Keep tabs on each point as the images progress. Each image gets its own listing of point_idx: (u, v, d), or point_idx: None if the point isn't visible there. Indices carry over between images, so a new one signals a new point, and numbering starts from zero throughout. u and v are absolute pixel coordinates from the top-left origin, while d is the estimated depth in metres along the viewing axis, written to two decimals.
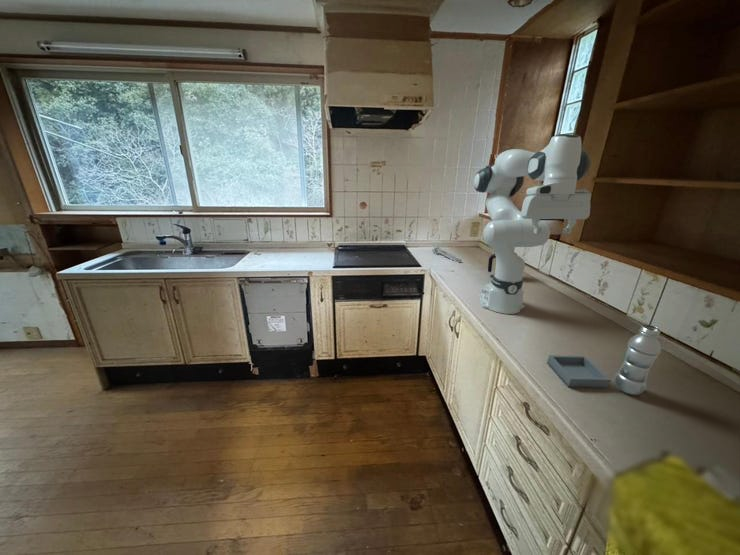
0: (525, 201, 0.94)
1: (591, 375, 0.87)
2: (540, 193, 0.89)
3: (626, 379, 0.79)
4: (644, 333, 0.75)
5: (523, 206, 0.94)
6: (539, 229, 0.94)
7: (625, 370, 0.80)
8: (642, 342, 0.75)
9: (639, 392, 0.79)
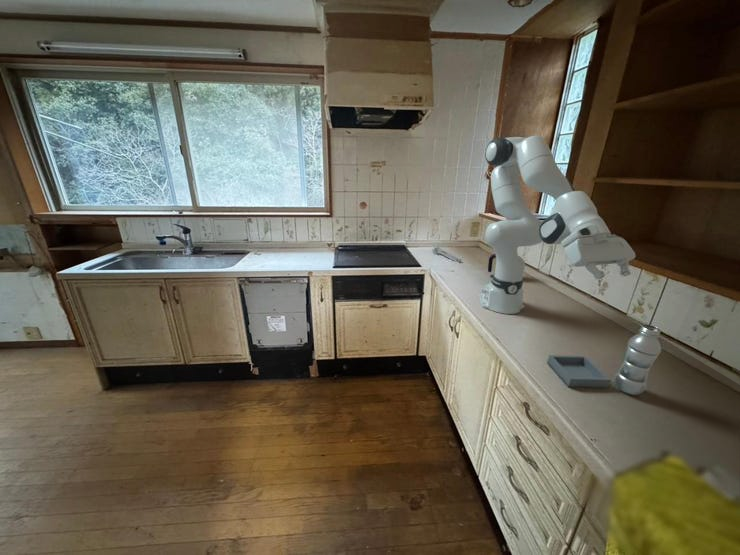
0: (569, 249, 0.86)
1: (591, 375, 0.87)
2: (582, 235, 0.84)
3: (626, 379, 0.79)
4: (644, 333, 0.75)
5: (569, 254, 0.85)
6: (601, 272, 0.82)
7: (625, 370, 0.80)
8: (642, 342, 0.75)
9: (639, 392, 0.79)
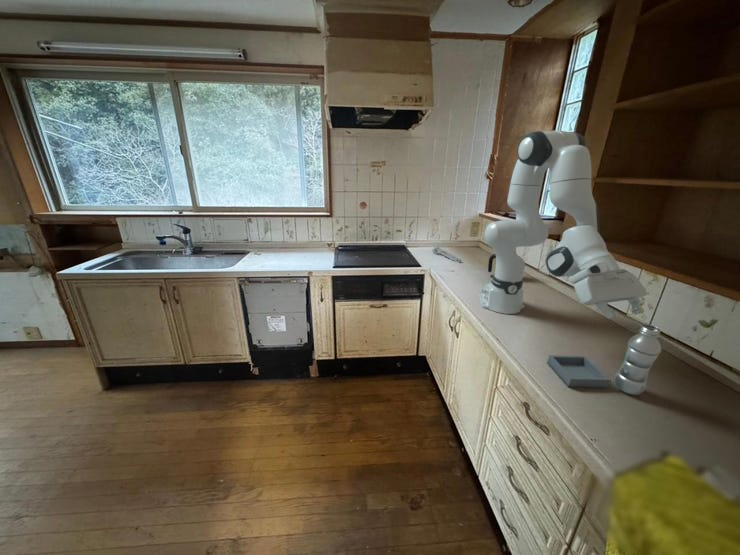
0: (578, 287, 0.84)
1: (591, 375, 0.87)
2: (592, 273, 0.82)
3: (626, 379, 0.79)
4: (644, 333, 0.75)
5: (579, 292, 0.83)
6: (612, 312, 0.80)
7: (625, 370, 0.80)
8: (642, 342, 0.76)
9: (639, 392, 0.79)
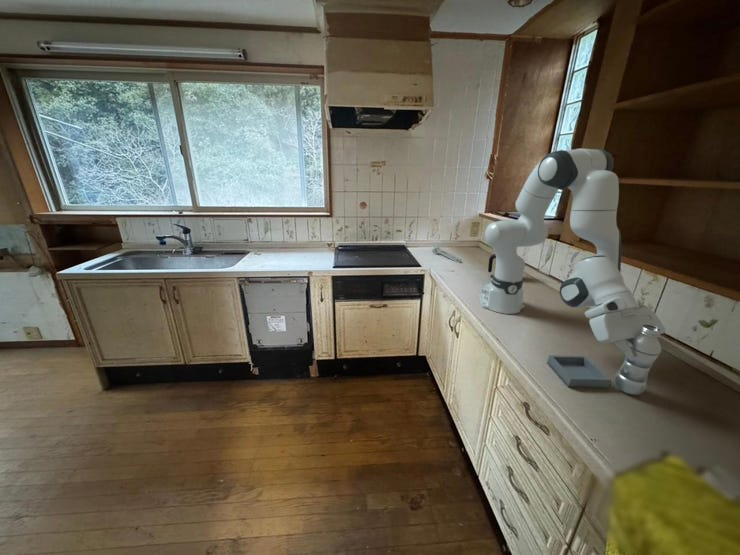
0: (594, 324, 0.80)
1: (591, 375, 0.87)
2: (609, 310, 0.78)
3: (626, 379, 0.79)
4: (644, 333, 0.75)
5: (595, 329, 0.80)
6: (633, 352, 0.76)
7: (625, 370, 0.80)
8: (642, 342, 0.75)
9: (639, 392, 0.79)
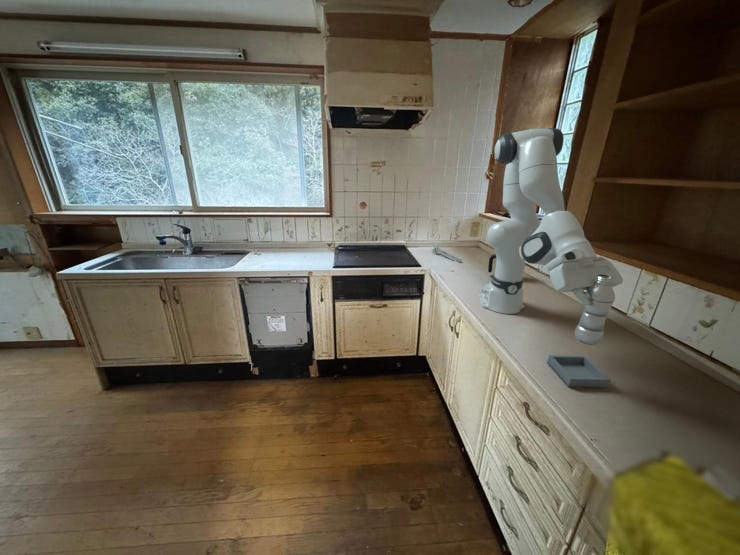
0: (553, 274, 0.82)
1: (591, 375, 0.87)
2: (567, 259, 0.80)
3: (584, 330, 0.81)
4: (598, 281, 0.77)
5: (553, 279, 0.81)
6: (588, 299, 0.78)
7: (583, 321, 0.82)
8: (596, 290, 0.77)
9: (596, 342, 0.80)
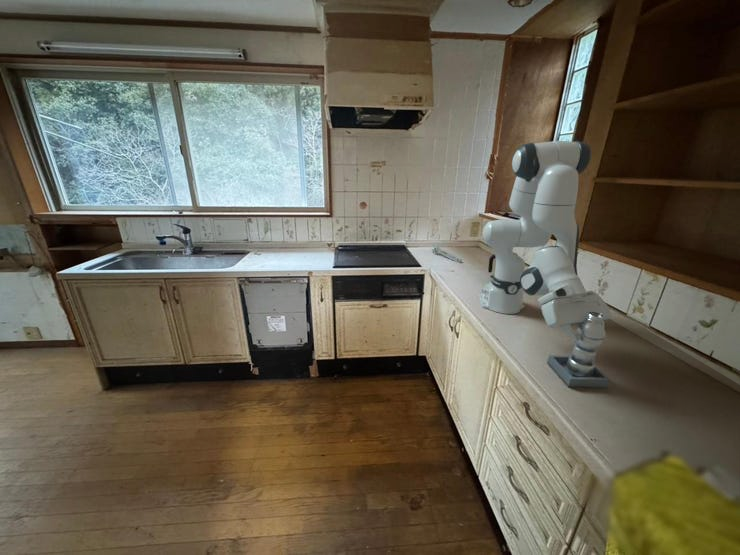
0: (545, 309, 0.85)
1: (591, 375, 0.87)
2: (558, 296, 0.83)
3: (576, 363, 0.85)
4: (589, 319, 0.81)
5: (545, 314, 0.85)
6: (576, 335, 0.82)
7: (574, 355, 0.85)
8: (587, 327, 0.81)
9: (587, 375, 0.84)
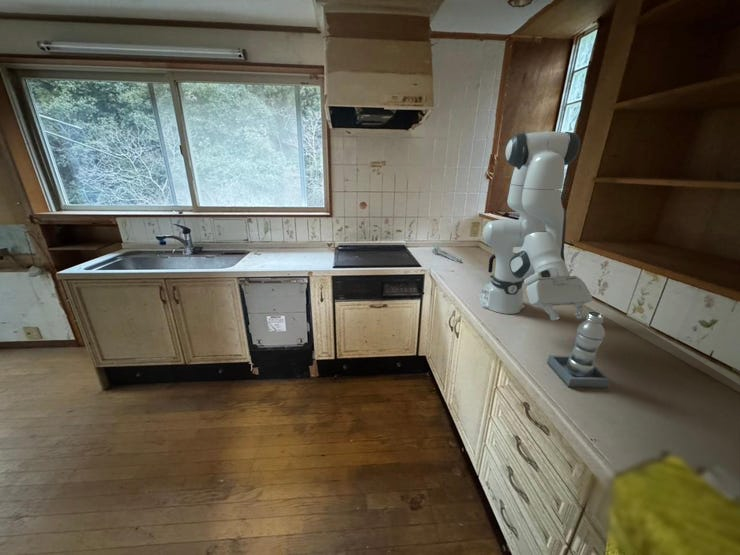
0: (529, 289, 0.90)
1: (591, 375, 0.87)
2: (542, 277, 0.88)
3: (575, 363, 0.85)
4: (589, 319, 0.81)
5: (529, 294, 0.89)
6: (556, 314, 0.86)
7: (574, 355, 0.85)
8: (587, 327, 0.81)
9: (587, 375, 0.84)
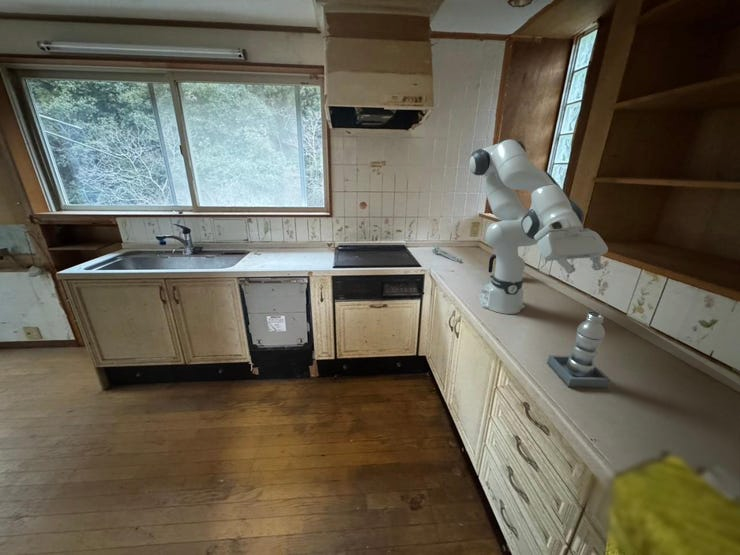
0: (541, 243, 0.85)
1: (591, 375, 0.87)
2: (554, 228, 0.83)
3: (575, 363, 0.85)
4: (589, 319, 0.81)
5: (541, 248, 0.85)
6: (572, 266, 0.81)
7: (574, 355, 0.85)
8: (587, 327, 0.81)
9: (587, 375, 0.84)
